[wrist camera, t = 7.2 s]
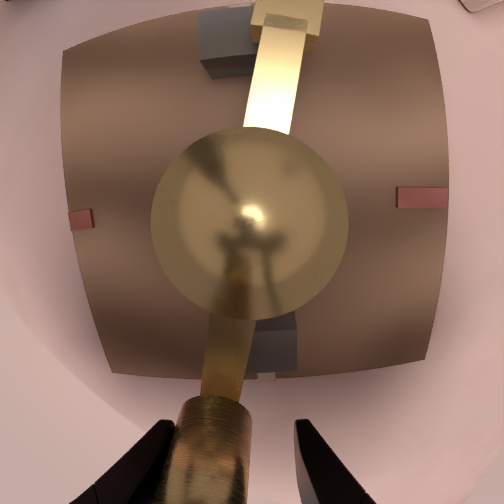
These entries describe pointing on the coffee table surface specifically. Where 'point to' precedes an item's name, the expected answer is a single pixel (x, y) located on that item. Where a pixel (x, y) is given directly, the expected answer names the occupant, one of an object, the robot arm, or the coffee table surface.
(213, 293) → the crank handle
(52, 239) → the coffee table surface
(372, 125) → the post base
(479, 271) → the coffee table surface
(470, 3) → the medicine bottle
